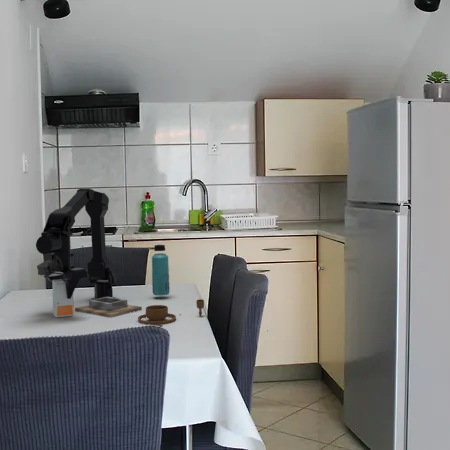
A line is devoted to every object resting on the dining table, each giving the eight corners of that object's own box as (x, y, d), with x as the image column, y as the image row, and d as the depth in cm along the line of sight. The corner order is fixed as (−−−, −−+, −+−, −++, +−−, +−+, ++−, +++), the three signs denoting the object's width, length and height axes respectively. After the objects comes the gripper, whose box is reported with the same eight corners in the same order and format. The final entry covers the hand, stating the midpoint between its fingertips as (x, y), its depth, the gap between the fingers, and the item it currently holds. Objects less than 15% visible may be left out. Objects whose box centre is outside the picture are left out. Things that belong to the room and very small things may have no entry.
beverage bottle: (166, 299, 225) (165, 245, 224) (149, 299, 226) (148, 245, 225) (172, 296, 232) (170, 243, 230) (155, 295, 233) (154, 243, 231)
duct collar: (74, 310, 208) (74, 300, 208) (106, 303, 219) (105, 294, 219) (111, 317, 197) (110, 306, 197) (141, 309, 209) (141, 299, 208)
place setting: (146, 315, 202) (145, 298, 202) (205, 316, 200) (205, 299, 199) (130, 328, 185) (130, 309, 185) (195, 330, 182) (195, 310, 182)
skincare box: (55, 318, 198) (54, 281, 197) (53, 315, 201) (51, 279, 200) (74, 316, 200) (73, 279, 199) (71, 313, 204) (70, 278, 203)
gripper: (23, 251, 198) (25, 298, 200) (59, 255, 187) (61, 305, 188) (51, 247, 207) (53, 293, 208) (87, 251, 196) (89, 299, 197)
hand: (63, 297), depth 200 cm, fingers closed on skincare box, 5 cm apart
